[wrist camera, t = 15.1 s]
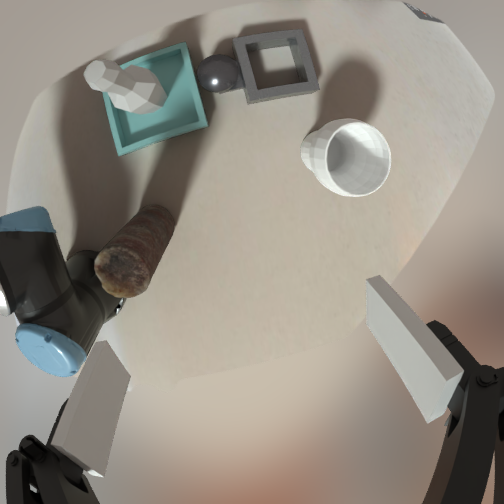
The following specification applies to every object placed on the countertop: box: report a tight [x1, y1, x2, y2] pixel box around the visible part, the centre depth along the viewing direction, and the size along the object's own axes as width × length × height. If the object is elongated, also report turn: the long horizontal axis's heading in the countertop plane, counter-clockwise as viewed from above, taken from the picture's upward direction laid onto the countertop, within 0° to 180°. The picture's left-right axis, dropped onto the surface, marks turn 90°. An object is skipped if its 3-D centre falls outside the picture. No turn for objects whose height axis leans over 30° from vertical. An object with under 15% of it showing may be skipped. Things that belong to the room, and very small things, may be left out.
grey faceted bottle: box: [83, 59, 168, 115], centre depth 28 cm, size 6×6×22 cm
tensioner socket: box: [197, 29, 320, 105], centre depth 36 cm, size 18×11×6 cm, turn 104°
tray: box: [102, 42, 209, 156], centre depth 37 cm, size 15×15×4 cm
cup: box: [301, 118, 391, 197], centre depth 38 cm, size 11×11×15 cm
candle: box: [94, 205, 174, 298], centre depth 38 cm, size 8×7×20 cm
